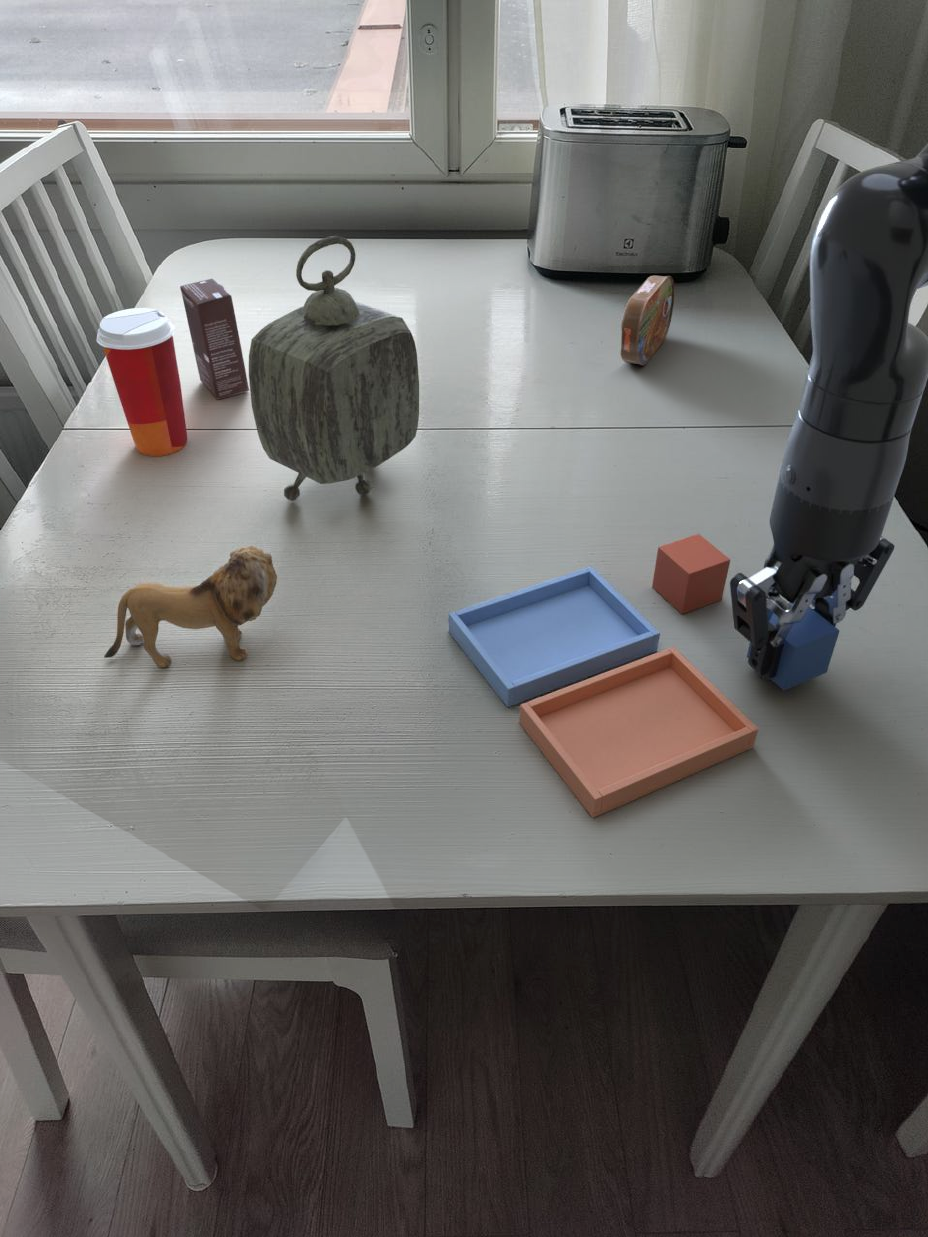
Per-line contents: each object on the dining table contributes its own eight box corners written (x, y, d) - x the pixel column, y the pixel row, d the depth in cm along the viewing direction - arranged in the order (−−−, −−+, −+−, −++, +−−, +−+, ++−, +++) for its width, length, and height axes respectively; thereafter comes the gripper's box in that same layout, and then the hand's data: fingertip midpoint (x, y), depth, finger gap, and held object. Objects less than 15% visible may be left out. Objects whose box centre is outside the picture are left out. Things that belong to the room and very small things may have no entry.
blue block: (788, 640, 78) (799, 598, 75) (826, 673, 75) (840, 630, 72) (746, 657, 77) (756, 614, 74) (783, 691, 74) (795, 648, 71)
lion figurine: (283, 614, 83) (269, 528, 77) (289, 654, 79) (275, 567, 73) (106, 642, 80) (78, 555, 74) (104, 685, 76) (74, 597, 70)
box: (197, 382, 117) (178, 284, 109) (232, 373, 119) (216, 276, 111) (214, 401, 113) (196, 302, 105) (250, 392, 115) (234, 293, 107)
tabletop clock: (367, 445, 105) (349, 208, 89) (429, 473, 100) (422, 229, 84) (266, 502, 96) (227, 250, 80) (329, 535, 92) (301, 276, 76)
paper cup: (179, 419, 110) (152, 299, 101) (209, 445, 105) (185, 322, 96) (113, 440, 106) (80, 318, 97) (142, 469, 101) (110, 343, 92)
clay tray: (670, 664, 78) (673, 646, 77) (753, 747, 71) (759, 728, 70) (519, 722, 73) (519, 704, 72) (592, 818, 66) (595, 799, 65)
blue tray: (589, 583, 86) (591, 566, 85) (657, 651, 79) (660, 633, 78) (448, 631, 81) (448, 613, 80) (507, 707, 74) (508, 689, 73)
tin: (636, 376, 118) (644, 309, 112) (612, 371, 119) (619, 305, 113) (672, 330, 128) (681, 267, 123) (649, 326, 129) (657, 263, 124)
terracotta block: (691, 572, 87) (698, 533, 84) (722, 599, 84) (730, 559, 81) (651, 586, 86) (657, 546, 83) (681, 614, 83) (689, 574, 80)
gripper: (795, 532, 60) (746, 723, 71) (958, 475, 65) (889, 662, 76) (718, 476, 65) (684, 662, 76) (875, 428, 70) (821, 609, 81)
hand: (787, 661), depth 76 cm, fingers closed on blue block, 4 cm apart
